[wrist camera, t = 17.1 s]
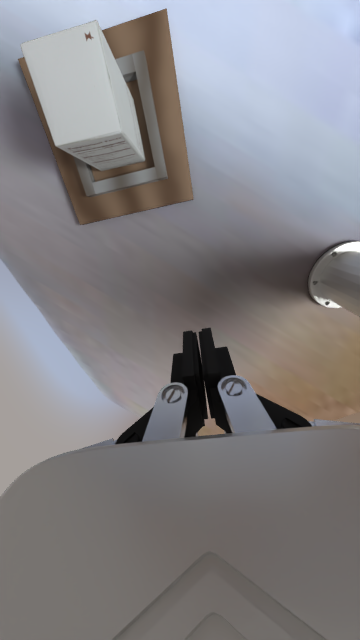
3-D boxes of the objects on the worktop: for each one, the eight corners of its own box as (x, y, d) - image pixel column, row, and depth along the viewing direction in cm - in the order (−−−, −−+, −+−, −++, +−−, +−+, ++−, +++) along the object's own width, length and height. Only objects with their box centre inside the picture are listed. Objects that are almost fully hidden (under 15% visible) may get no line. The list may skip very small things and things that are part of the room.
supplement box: (83, 110, 28) (15, 37, 17) (134, 97, 28) (98, 14, 16) (100, 173, 32) (52, 147, 20) (146, 163, 31) (123, 131, 20)
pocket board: (167, 17, 25) (165, -5, 23) (193, 199, 34) (193, 198, 31) (24, 65, 27) (8, 49, 25) (83, 224, 36) (75, 224, 34)
